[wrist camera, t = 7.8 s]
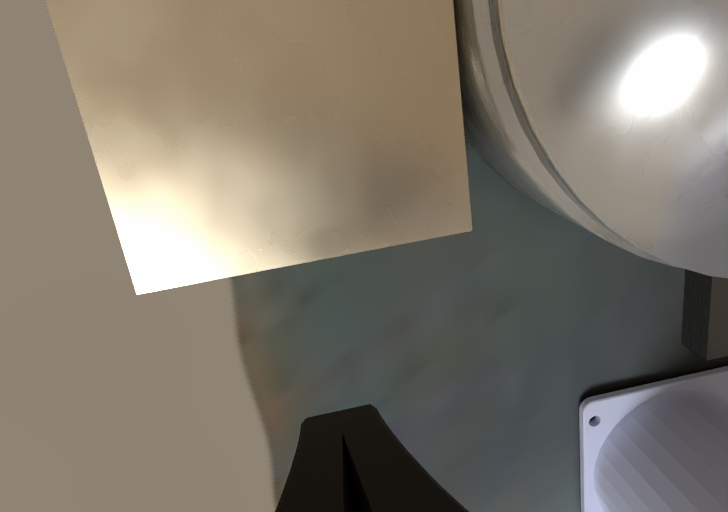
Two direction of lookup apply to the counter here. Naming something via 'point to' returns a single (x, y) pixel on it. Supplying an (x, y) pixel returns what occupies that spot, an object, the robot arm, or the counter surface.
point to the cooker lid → (628, 114)
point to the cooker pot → (304, 134)
